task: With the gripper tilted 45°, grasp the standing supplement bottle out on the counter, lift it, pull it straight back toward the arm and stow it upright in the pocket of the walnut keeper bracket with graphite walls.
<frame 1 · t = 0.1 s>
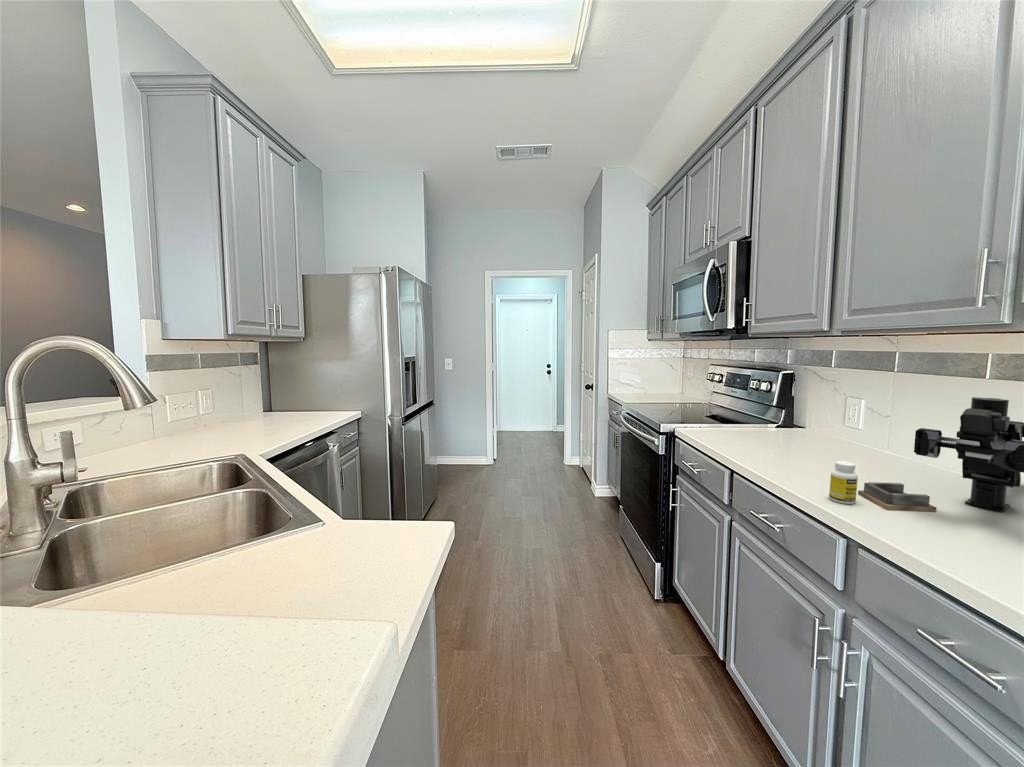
hand: (960, 455, 91), 17 cm above the countertop, tool horizontal, fingers open, 9 cm apart
supplement bottle: (842, 501, 110), on the countertop
keeper: (895, 502, 109), on the countertop
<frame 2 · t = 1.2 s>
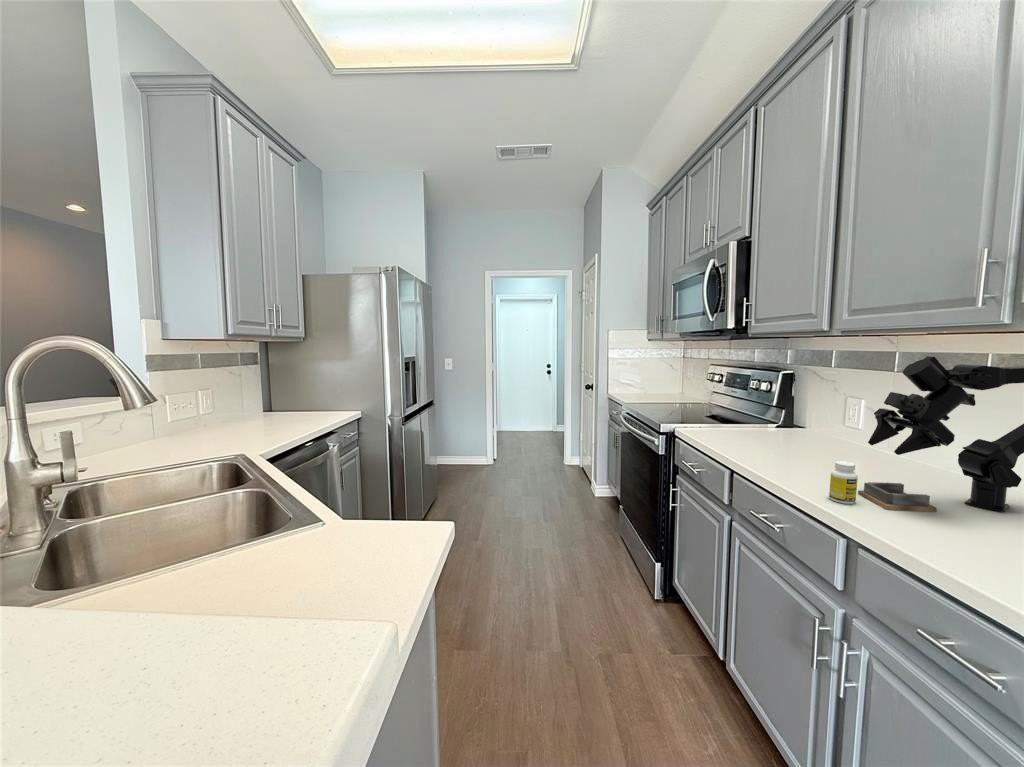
hand: (882, 448, 108), 14 cm above the countertop, tool tilted 45°, fingers open, 9 cm apart
nothing on the countertop moved.
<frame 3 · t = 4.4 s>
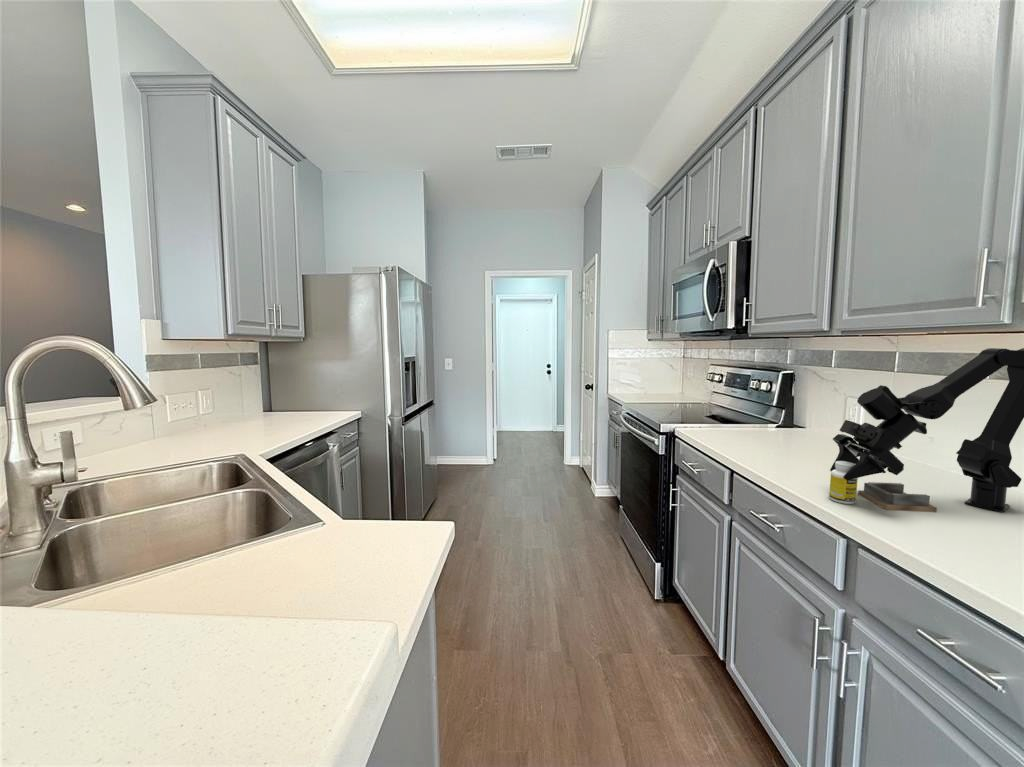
hand: (837, 475, 110), 7 cm above the countertop, tool tilted 45°, fingers closed on supplement bottle, 5 cm apart
supplement bottle: (842, 501, 110), on the countertop, touching gripper
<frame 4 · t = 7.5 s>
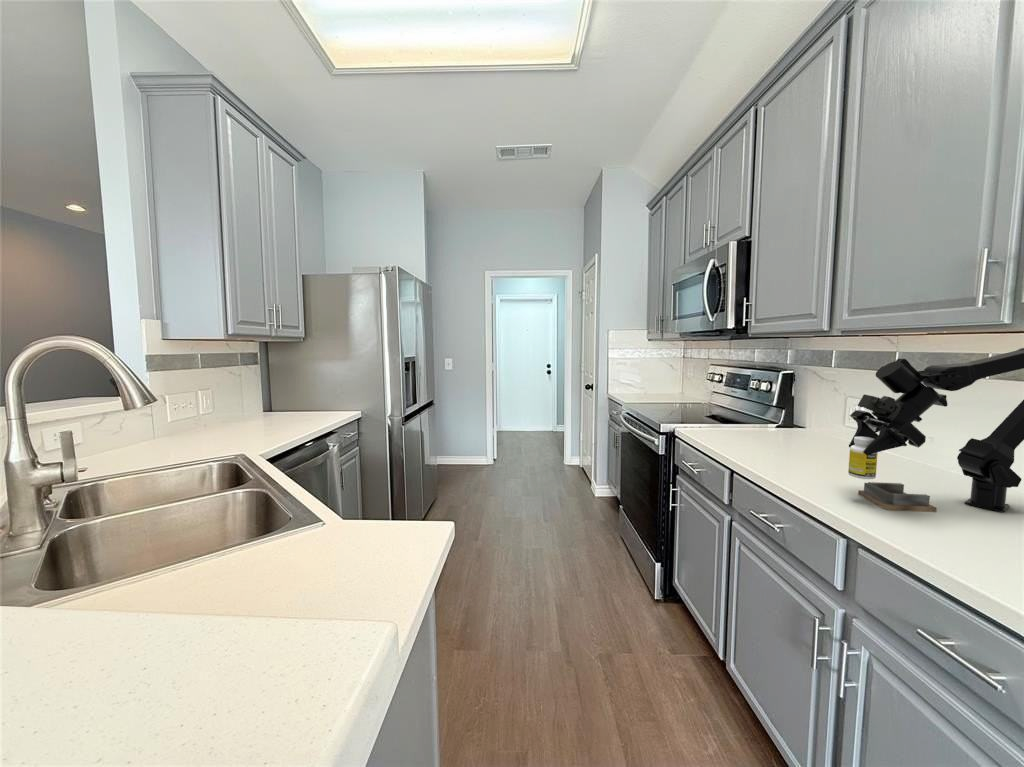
hand: (857, 450, 109), 13 cm above the countertop, tool tilted 45°, fingers closed on supplement bottle, 5 cm apart
supplement bottle: (861, 477, 109), point 6 cm above the countertop, touching gripper
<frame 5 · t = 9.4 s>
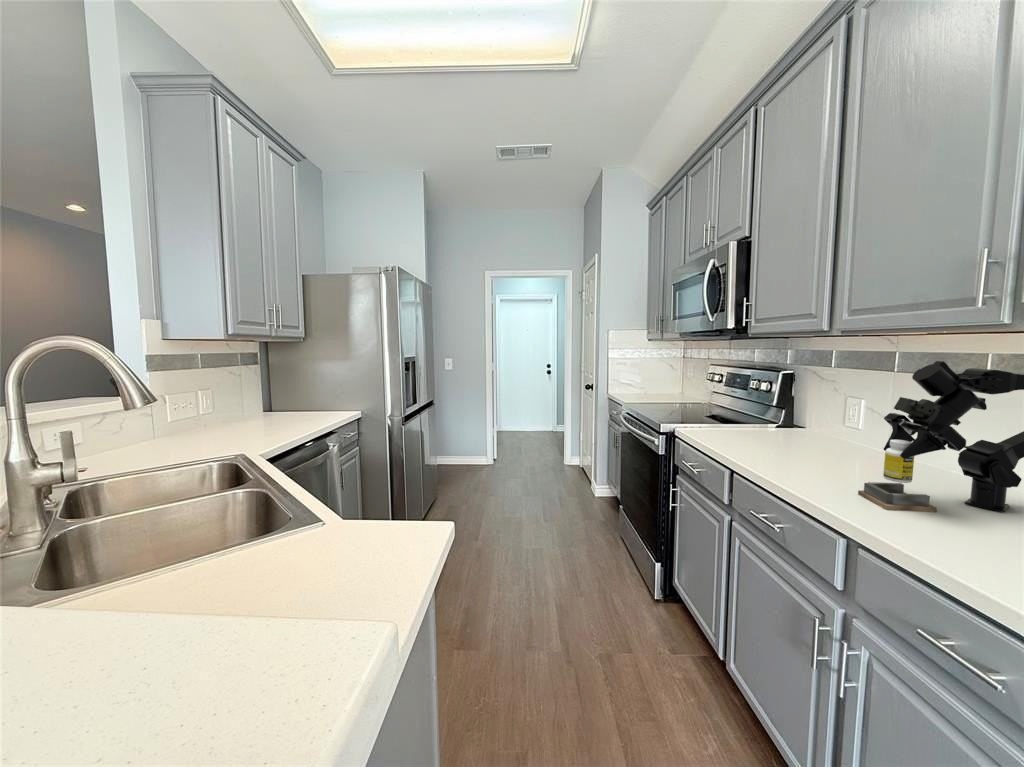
hand: (893, 453, 108), 12 cm above the countertop, tool tilted 45°, fingers closed on supplement bottle, 5 cm apart
supplement bottle: (897, 480, 108), point 6 cm above the countertop, touching gripper
when the fingers open (9 cm above the countertop, at t = 10.8 s): supplement bottle drops 1 cm, resting on keeper.
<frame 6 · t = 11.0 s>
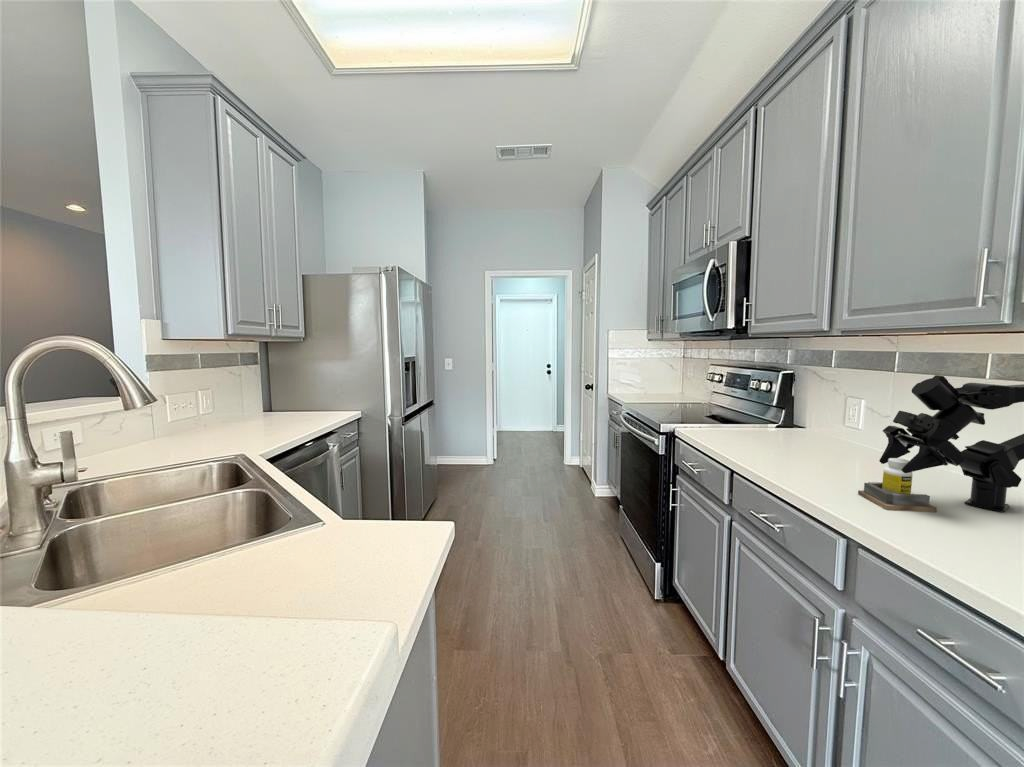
hand: (891, 467, 108), 9 cm above the countertop, tool tilted 45°, fingers open, 7 cm apart
supplement bottle: (895, 499, 109), point 1 cm above the countertop, touching keeper
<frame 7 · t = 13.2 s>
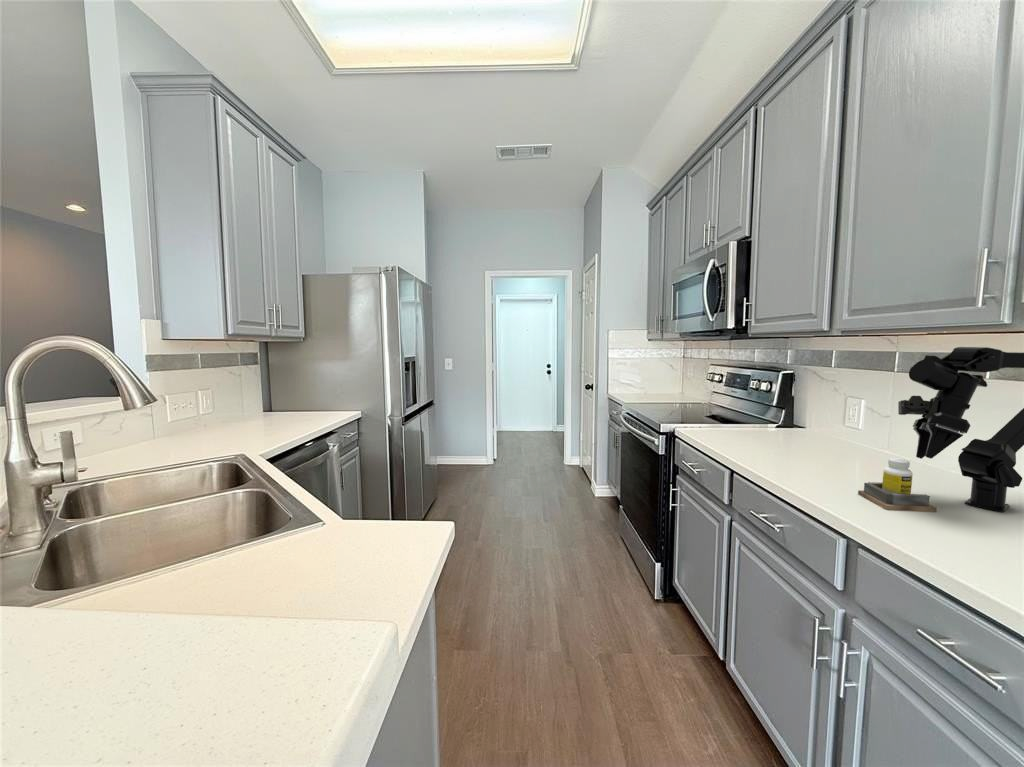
hand: (923, 457, 104), 12 cm above the countertop, tool tilted 25°, fingers open, 9 cm apart
nothing on the countertop moved.
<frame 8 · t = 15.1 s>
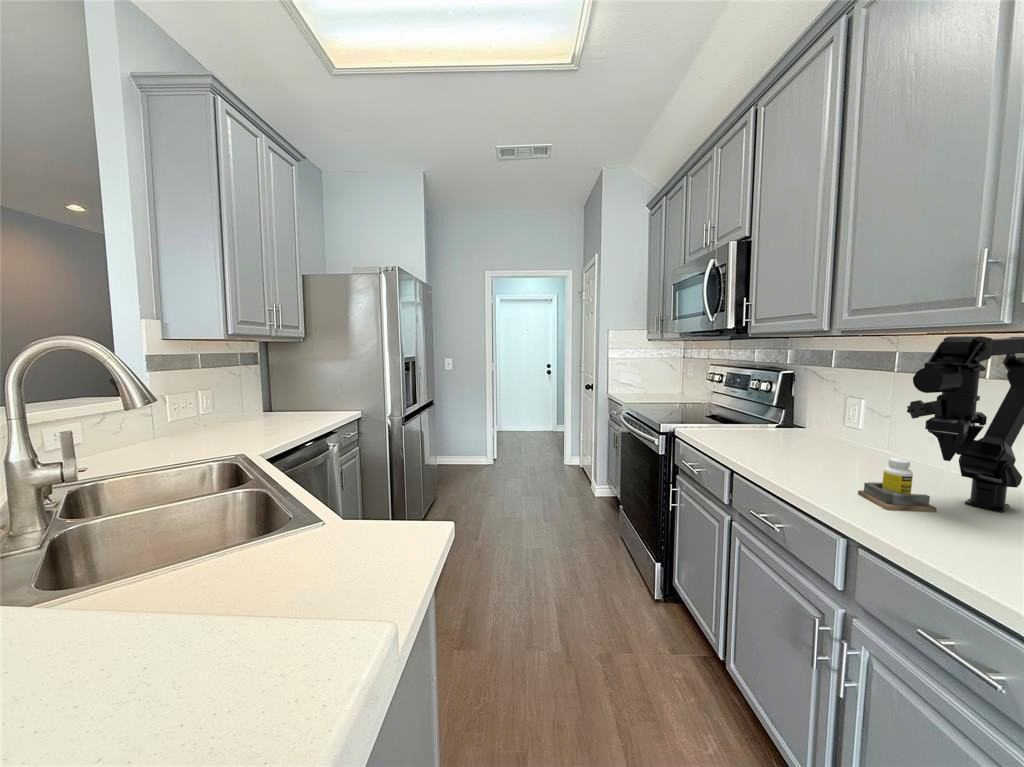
hand: (953, 457, 101), 13 cm above the countertop, tool pointing down, fingers open, 9 cm apart
nothing on the countertop moved.
at the end: supplement bottle 0.2 cm from the keeper (horizontally); supplement bottle tilted 0°; the gripper is holding nothing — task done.
